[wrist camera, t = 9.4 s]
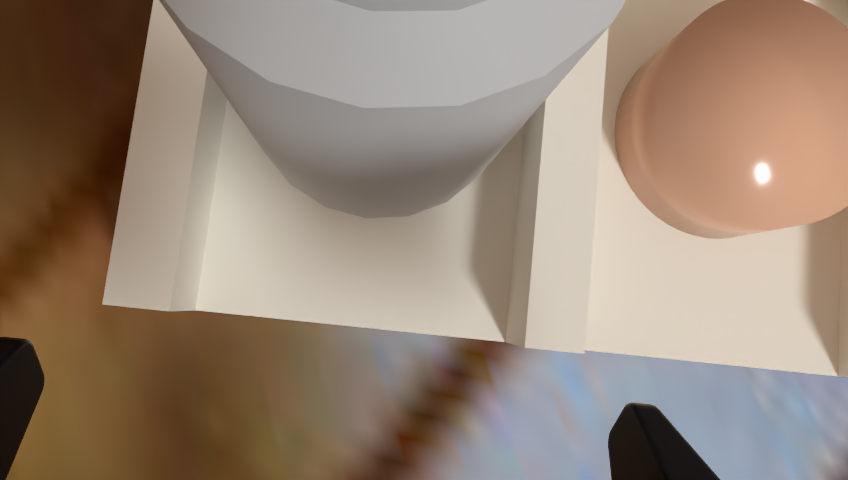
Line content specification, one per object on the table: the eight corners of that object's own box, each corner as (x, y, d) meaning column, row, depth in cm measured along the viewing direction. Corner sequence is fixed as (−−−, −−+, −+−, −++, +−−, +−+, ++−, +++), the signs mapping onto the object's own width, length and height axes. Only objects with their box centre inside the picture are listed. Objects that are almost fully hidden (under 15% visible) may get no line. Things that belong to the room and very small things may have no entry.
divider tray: (872, 379, 19) (955, 391, 16) (144, 304, 17) (102, 304, 14) (879, -31, 20) (956, -81, 18) (214, -141, 19) (189, -215, 16)
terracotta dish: (772, 270, 18) (850, 264, 15) (585, 190, 18) (628, 168, 15) (830, 89, 19) (914, 49, 16) (653, 10, 19) (705, -45, 16)
